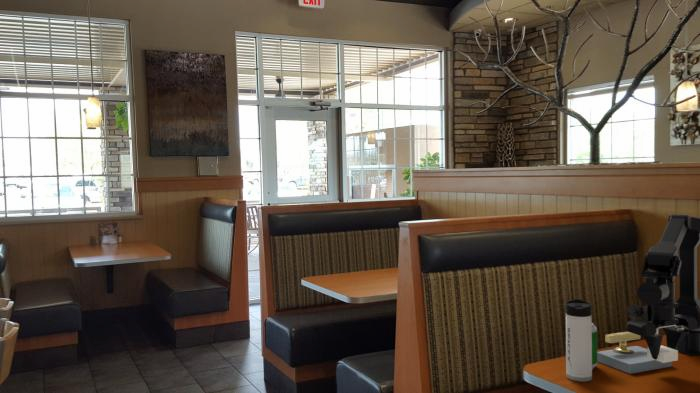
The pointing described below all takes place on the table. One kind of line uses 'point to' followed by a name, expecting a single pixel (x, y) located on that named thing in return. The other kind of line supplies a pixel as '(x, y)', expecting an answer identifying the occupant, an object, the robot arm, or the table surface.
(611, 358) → the lock plate
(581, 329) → the travel mug
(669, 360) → the white square block
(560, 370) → the table surface
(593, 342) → the soda can
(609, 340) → the brass door handle
